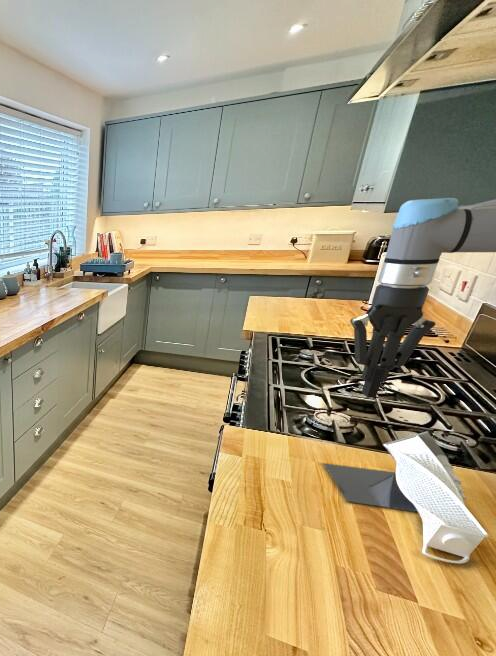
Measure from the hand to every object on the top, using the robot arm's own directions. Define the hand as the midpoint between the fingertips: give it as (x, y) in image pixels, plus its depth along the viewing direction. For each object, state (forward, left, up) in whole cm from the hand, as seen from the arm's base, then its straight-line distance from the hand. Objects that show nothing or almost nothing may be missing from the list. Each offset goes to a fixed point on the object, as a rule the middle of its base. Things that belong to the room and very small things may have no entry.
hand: (368, 394), depth 90 cm
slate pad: (+2, +17, -13) cm, 21 cm away
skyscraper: (-5, +9, -8) cm, 13 cm away
